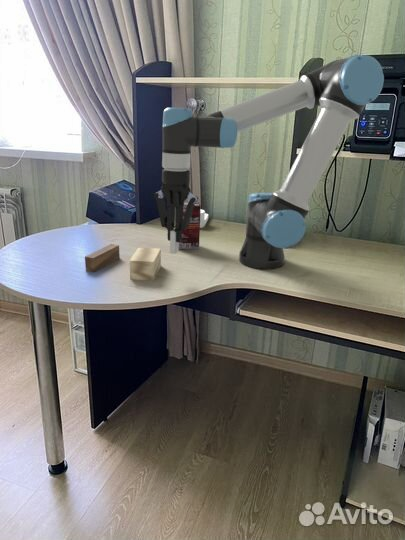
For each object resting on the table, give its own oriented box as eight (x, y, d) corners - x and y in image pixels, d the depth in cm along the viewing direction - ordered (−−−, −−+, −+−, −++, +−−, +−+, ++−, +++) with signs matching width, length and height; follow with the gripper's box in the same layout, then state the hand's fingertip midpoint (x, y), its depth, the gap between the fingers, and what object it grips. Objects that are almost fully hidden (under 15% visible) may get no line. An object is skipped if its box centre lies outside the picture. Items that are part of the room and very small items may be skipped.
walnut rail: (119, 258, 139) (119, 245, 137) (94, 272, 126) (93, 258, 125) (111, 256, 140) (111, 243, 138) (85, 270, 128) (84, 256, 126)
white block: (202, 229, 174) (203, 214, 172) (182, 228, 175) (182, 212, 173) (209, 218, 193) (209, 203, 190) (190, 216, 194) (190, 202, 191)
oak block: (160, 266, 133) (160, 248, 131) (153, 281, 122) (153, 261, 120) (139, 265, 134) (138, 247, 131) (130, 279, 122) (129, 260, 120)
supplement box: (175, 249, 149) (176, 205, 143) (174, 245, 153) (175, 202, 147) (199, 249, 150) (201, 205, 144) (198, 244, 154) (199, 202, 149)
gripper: (203, 169, 114) (200, 251, 122) (161, 165, 118) (160, 244, 127) (192, 172, 107) (189, 259, 116) (148, 168, 112) (148, 251, 120)
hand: (174, 251), depth 121 cm, fingers closed
